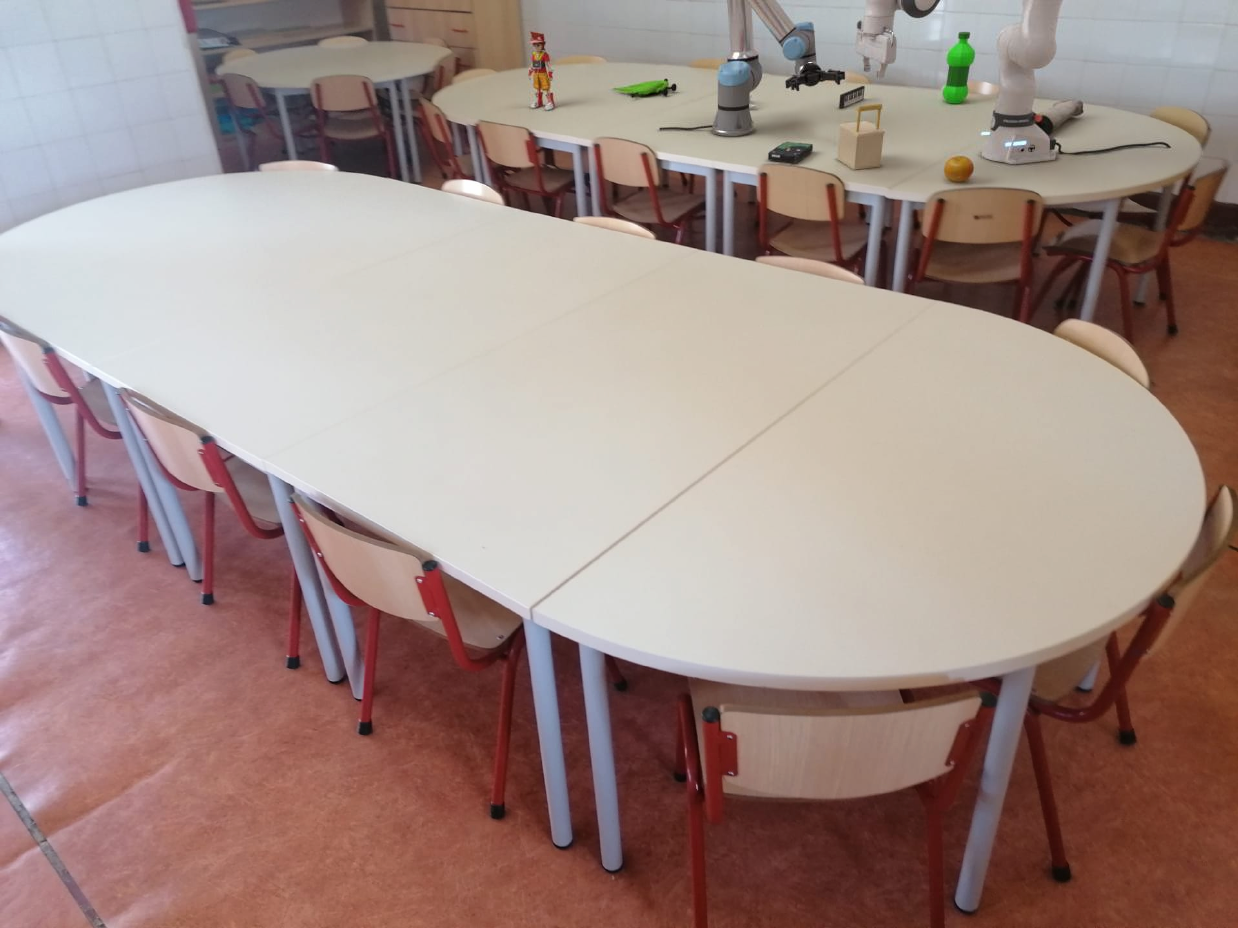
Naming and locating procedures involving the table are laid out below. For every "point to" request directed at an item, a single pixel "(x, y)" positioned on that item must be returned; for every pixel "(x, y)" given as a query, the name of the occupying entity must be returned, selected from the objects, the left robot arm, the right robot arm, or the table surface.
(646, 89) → the toy
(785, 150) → the disk drive
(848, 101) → the midi keyboard
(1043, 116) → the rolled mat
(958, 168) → the fruit
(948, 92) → the plastic bottle
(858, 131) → the lid
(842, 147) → the chest
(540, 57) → the toy
